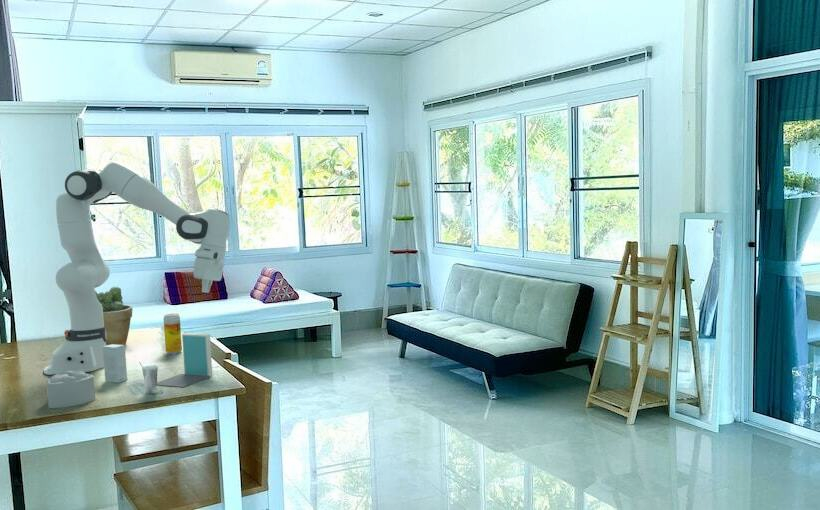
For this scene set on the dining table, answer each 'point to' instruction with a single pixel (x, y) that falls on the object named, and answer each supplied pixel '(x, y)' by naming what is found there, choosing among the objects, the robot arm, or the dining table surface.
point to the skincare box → (114, 363)
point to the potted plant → (115, 316)
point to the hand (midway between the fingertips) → (205, 292)
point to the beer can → (172, 333)
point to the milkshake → (150, 377)
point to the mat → (182, 380)
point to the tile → (197, 354)
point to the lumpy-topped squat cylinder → (70, 389)
